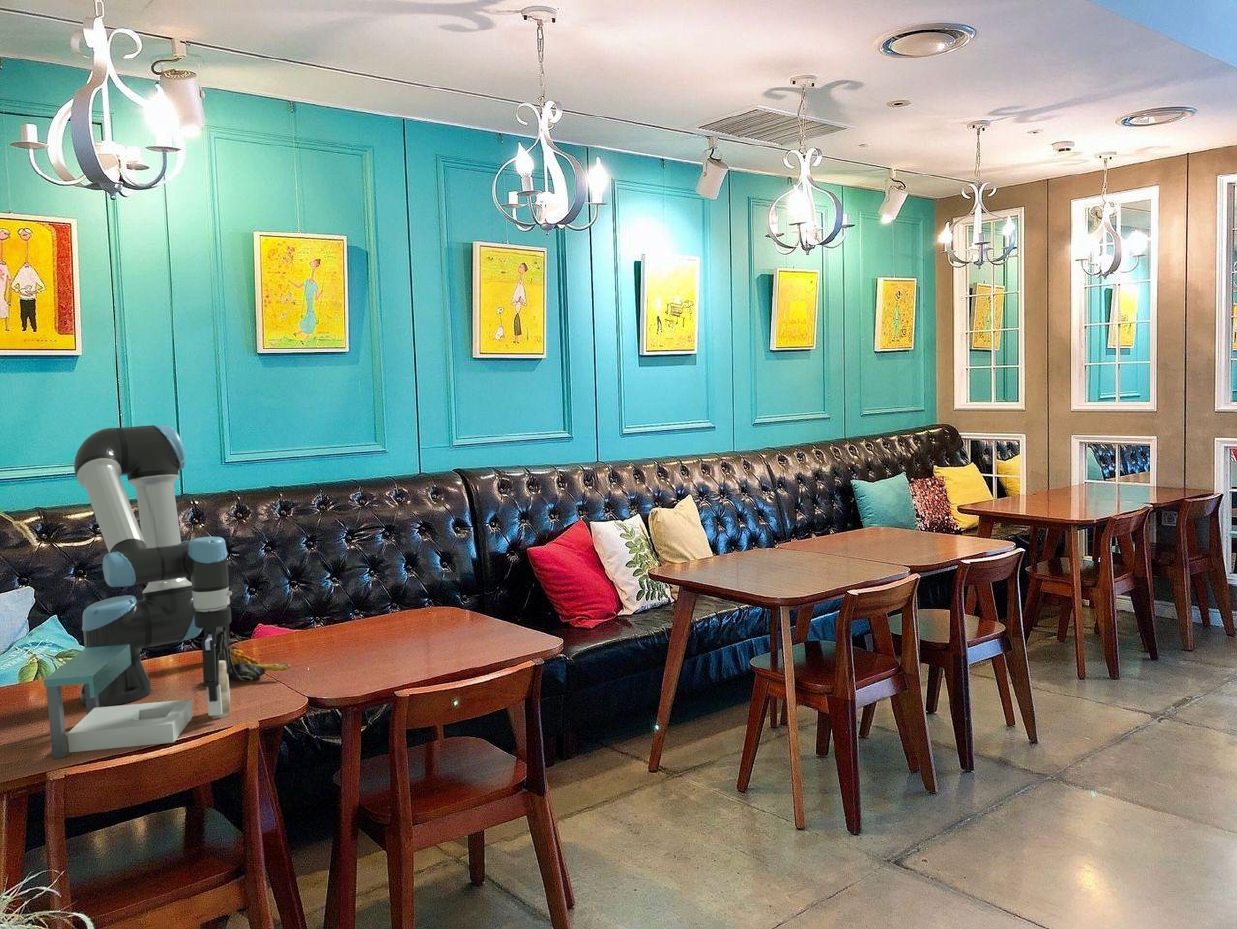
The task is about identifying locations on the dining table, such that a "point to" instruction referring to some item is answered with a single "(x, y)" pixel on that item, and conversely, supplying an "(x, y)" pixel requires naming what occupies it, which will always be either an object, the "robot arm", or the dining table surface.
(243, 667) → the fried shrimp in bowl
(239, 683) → the dining table surface
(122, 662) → the teal miniature table
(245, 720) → the dining table surface
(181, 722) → the socket block
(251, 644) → the dining table surface
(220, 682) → the wooden peg
